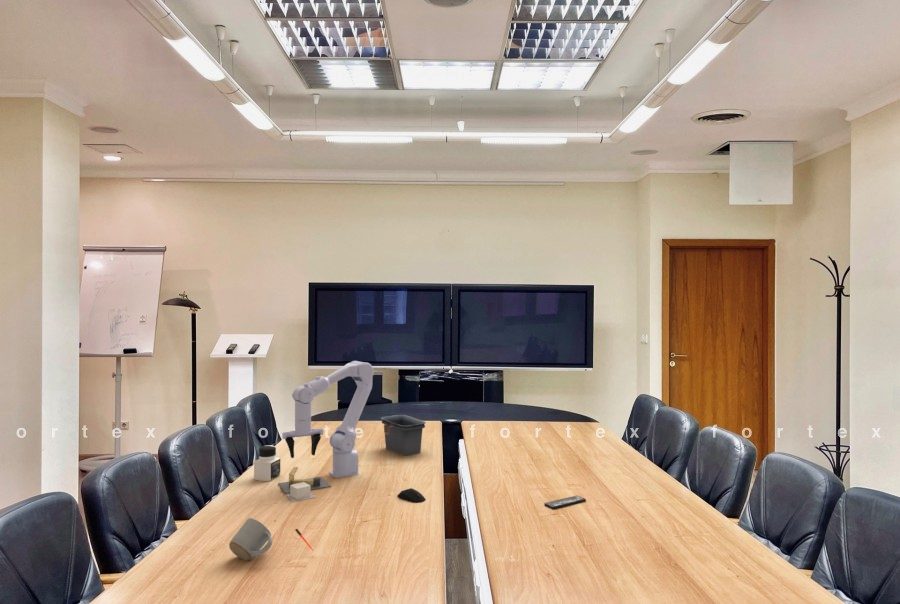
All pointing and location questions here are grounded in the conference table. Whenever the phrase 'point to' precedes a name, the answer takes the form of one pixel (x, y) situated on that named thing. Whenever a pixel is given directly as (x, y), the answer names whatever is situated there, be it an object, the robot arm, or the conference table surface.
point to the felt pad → (300, 498)
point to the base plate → (323, 484)
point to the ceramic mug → (251, 540)
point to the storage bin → (403, 434)
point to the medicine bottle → (267, 464)
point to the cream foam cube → (300, 490)
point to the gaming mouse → (411, 496)
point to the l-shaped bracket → (309, 481)
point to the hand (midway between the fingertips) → (302, 456)
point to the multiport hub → (564, 502)
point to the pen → (303, 538)
